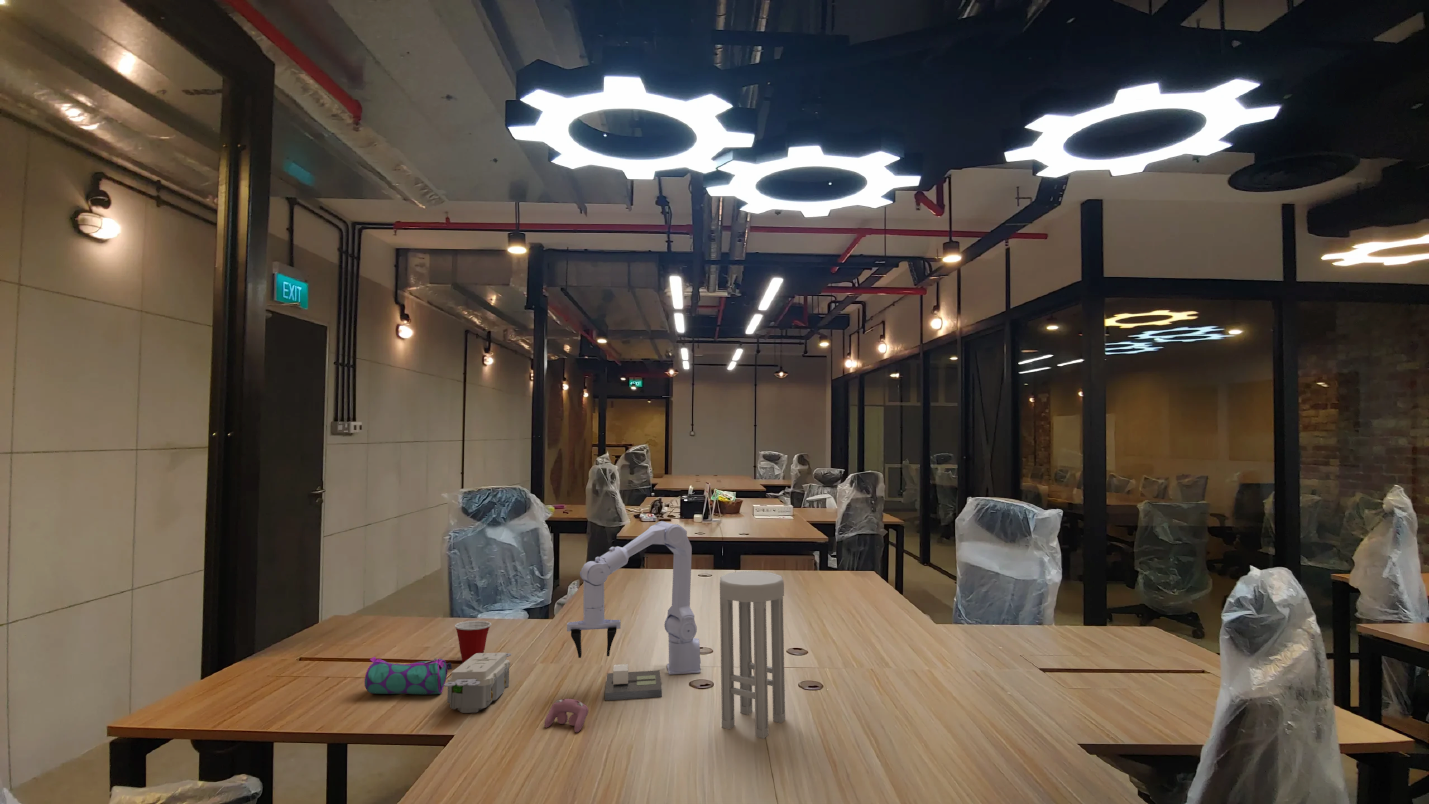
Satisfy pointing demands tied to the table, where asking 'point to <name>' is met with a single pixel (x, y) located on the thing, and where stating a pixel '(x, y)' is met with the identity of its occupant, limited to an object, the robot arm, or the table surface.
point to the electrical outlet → (478, 681)
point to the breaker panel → (635, 686)
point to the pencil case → (406, 677)
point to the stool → (758, 591)
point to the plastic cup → (472, 637)
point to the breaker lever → (620, 674)
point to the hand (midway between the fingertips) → (594, 655)
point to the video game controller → (560, 712)
